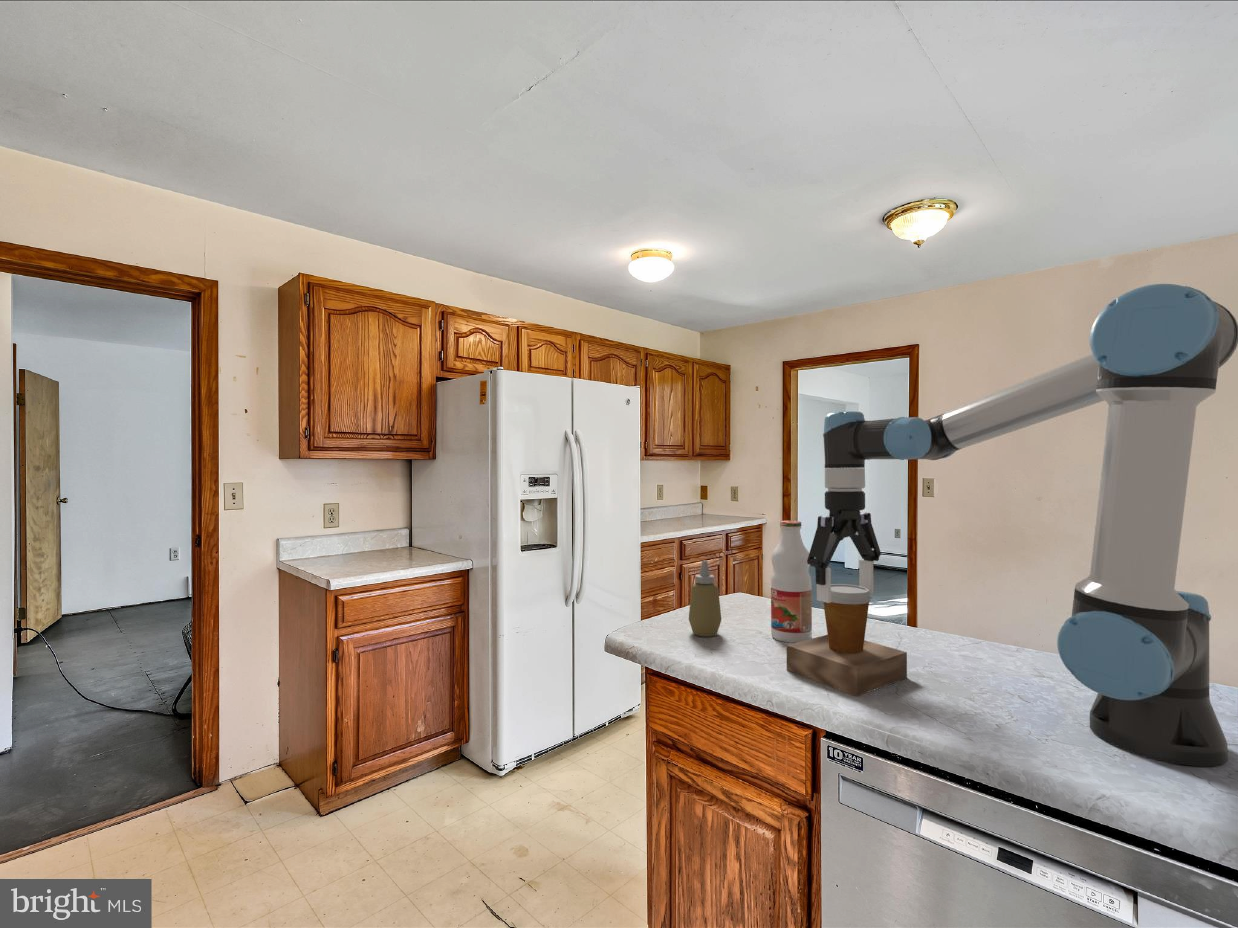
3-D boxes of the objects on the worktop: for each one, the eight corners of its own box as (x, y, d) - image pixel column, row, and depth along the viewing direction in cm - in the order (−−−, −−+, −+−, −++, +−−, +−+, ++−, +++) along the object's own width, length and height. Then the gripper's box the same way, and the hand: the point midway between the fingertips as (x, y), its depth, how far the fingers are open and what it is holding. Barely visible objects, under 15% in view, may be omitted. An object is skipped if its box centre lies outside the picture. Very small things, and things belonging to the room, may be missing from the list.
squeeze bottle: (724, 638, 138) (723, 563, 138) (690, 638, 138) (690, 563, 138) (718, 629, 146) (718, 558, 146) (686, 629, 146) (686, 558, 146)
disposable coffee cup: (877, 657, 109) (876, 594, 109) (824, 654, 111) (823, 592, 111) (866, 642, 119) (865, 584, 119) (817, 640, 121) (817, 582, 121)
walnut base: (906, 677, 113) (906, 652, 113) (856, 696, 104) (856, 668, 104) (836, 655, 126) (836, 632, 126) (786, 669, 117) (786, 645, 117)
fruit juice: (819, 642, 135) (818, 522, 135) (781, 644, 133) (780, 523, 133) (800, 631, 144) (799, 519, 144) (764, 632, 143) (764, 519, 143)
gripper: (865, 487, 125) (866, 585, 125) (787, 491, 111) (788, 601, 111) (898, 488, 119) (899, 591, 118) (819, 492, 105) (821, 609, 105)
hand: (845, 596), depth 115 cm, fingers open, 13 cm apart
